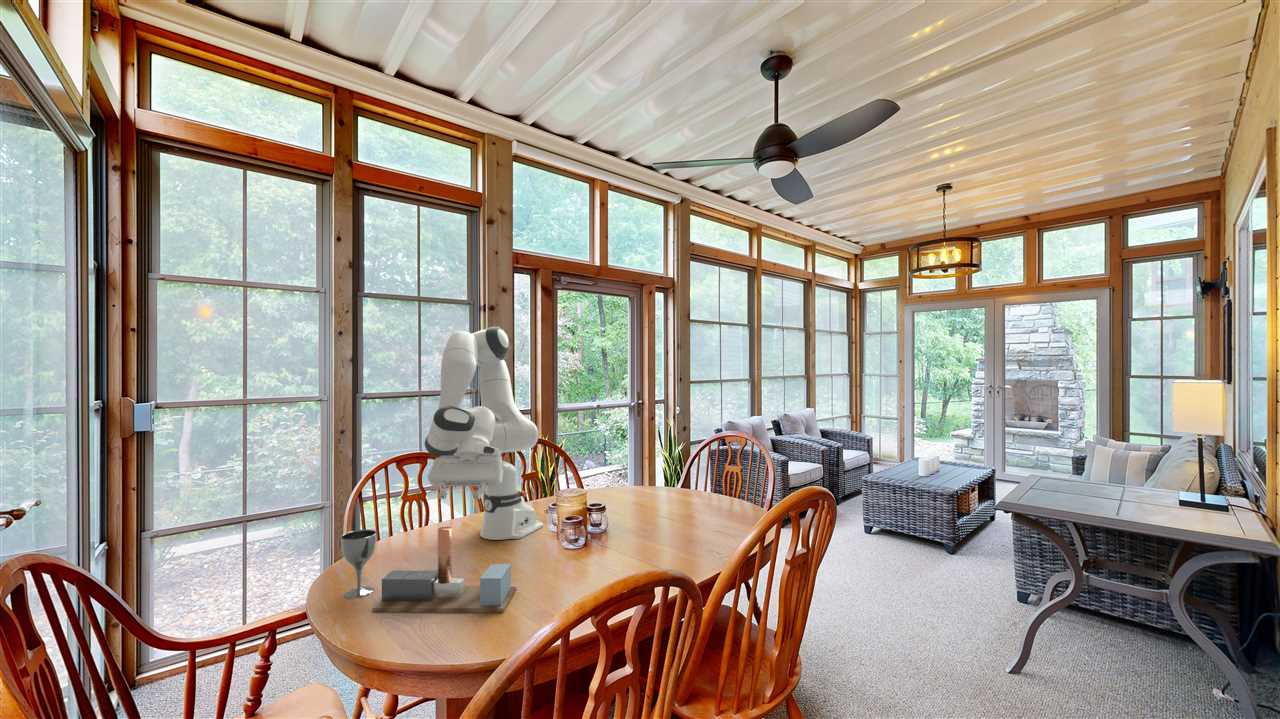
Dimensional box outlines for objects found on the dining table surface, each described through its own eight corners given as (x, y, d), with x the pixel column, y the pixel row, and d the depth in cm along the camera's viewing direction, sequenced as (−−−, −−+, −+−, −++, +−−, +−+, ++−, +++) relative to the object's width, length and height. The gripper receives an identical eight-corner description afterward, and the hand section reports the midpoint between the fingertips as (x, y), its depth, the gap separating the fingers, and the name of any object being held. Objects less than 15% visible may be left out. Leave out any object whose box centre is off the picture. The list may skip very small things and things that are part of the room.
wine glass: (334, 599, 132) (334, 539, 132) (352, 585, 140) (352, 529, 140) (366, 599, 132) (366, 539, 132) (381, 585, 140) (381, 529, 140)
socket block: (480, 605, 126) (480, 578, 126) (491, 589, 135) (491, 563, 135) (500, 605, 126) (500, 578, 126) (510, 589, 135) (510, 563, 135)
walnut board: (372, 611, 125) (372, 607, 125) (396, 589, 137) (396, 586, 137) (503, 612, 125) (503, 608, 125) (516, 590, 137) (516, 586, 137)
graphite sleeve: (381, 601, 129) (381, 579, 129) (392, 591, 134) (392, 570, 134) (430, 601, 128) (430, 579, 128) (439, 591, 134) (439, 570, 134)
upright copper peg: (387, 593, 130) (387, 530, 130) (394, 587, 133) (394, 526, 133) (460, 594, 129) (460, 530, 129) (464, 588, 133) (464, 526, 133)
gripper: (433, 449, 150) (417, 491, 141) (503, 449, 150) (493, 491, 140) (439, 461, 155) (425, 503, 145) (508, 461, 154) (498, 504, 144)
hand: (459, 498), depth 143 cm, fingers open, 8 cm apart
